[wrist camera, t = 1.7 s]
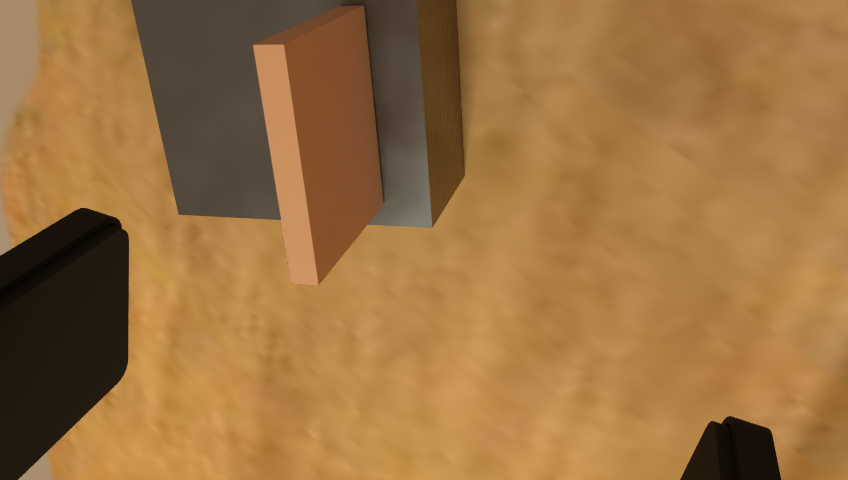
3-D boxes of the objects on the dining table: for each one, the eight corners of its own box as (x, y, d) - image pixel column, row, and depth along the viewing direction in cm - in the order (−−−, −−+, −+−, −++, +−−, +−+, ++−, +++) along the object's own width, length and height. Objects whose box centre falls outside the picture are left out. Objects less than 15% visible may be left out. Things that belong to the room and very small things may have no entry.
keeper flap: (338, 5, 29) (364, 5, 28) (361, 203, 32) (383, 204, 32) (253, 44, 23) (284, 44, 22) (291, 283, 26) (318, 285, 26)
